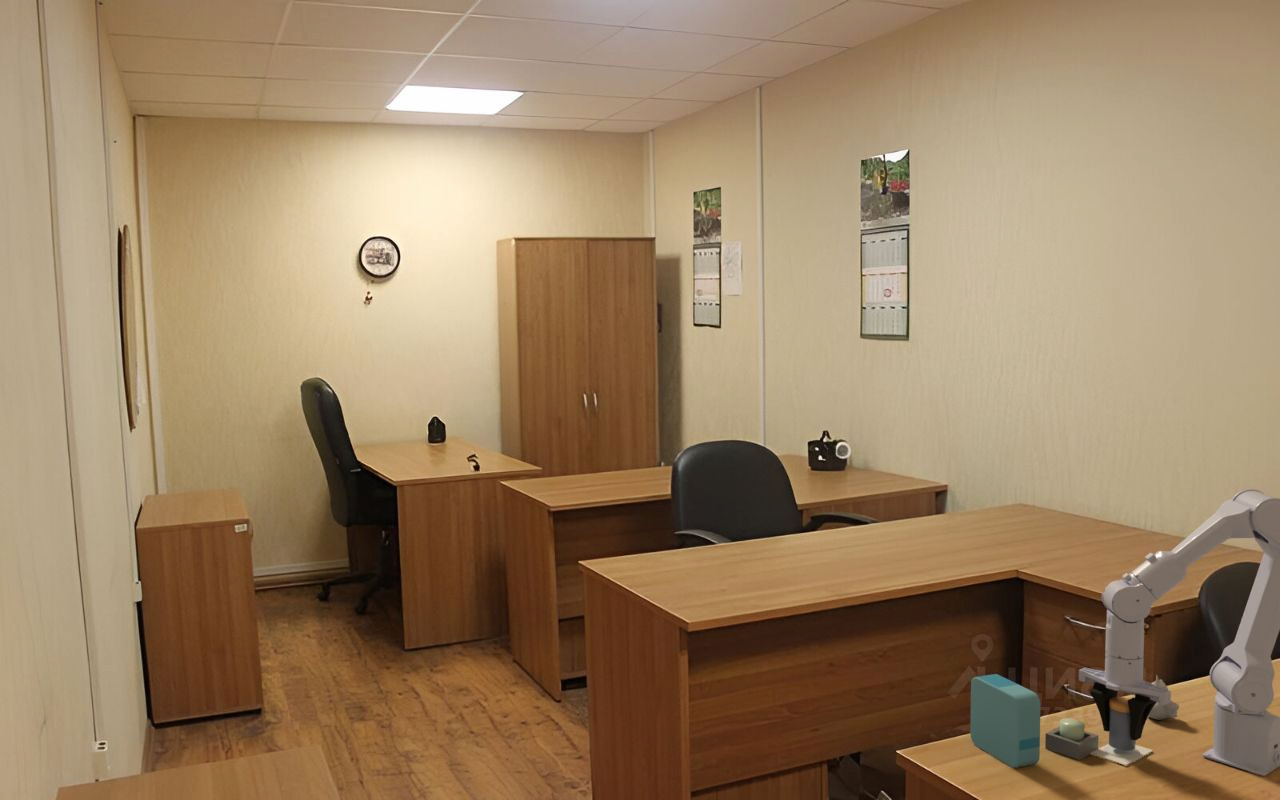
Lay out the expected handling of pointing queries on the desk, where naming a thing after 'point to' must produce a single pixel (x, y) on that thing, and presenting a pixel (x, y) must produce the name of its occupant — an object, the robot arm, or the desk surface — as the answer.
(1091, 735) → the button housing
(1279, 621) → the robot arm
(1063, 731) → the button
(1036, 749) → the data package
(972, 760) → the desk surface
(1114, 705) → the orange-capped grey cylinder
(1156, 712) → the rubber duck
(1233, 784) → the desk surface
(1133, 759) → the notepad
